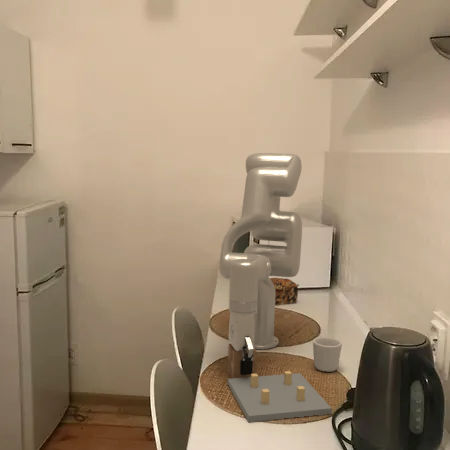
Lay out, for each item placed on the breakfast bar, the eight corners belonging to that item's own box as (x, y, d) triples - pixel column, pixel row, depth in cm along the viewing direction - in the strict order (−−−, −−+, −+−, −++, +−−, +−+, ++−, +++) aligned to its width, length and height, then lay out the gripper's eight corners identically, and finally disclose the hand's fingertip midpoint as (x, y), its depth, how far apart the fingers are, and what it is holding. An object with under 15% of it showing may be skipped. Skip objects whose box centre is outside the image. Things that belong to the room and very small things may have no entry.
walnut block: (227, 371, 146) (228, 343, 145) (248, 370, 148) (249, 342, 146) (233, 380, 140) (233, 351, 139) (254, 379, 142) (255, 350, 141)
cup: (325, 358, 158) (326, 332, 157) (349, 365, 153) (351, 338, 152) (306, 368, 149) (307, 341, 148) (331, 376, 144) (333, 348, 143)
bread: (256, 308, 207) (257, 283, 206) (245, 300, 217) (246, 276, 216) (298, 304, 214) (299, 280, 213) (286, 297, 224) (287, 274, 223)
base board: (227, 384, 138) (228, 367, 137) (299, 378, 143) (300, 362, 142) (248, 422, 119) (249, 403, 118) (331, 414, 123) (332, 396, 123)
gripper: (222, 297, 149) (220, 355, 151) (237, 316, 132) (235, 381, 134) (247, 296, 151) (246, 354, 153) (266, 314, 134) (264, 379, 136)
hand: (241, 366), depth 144 cm, fingers open, 9 cm apart
